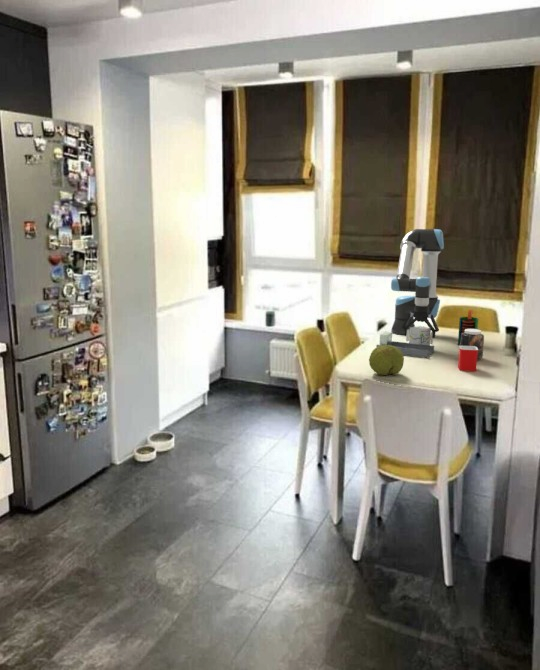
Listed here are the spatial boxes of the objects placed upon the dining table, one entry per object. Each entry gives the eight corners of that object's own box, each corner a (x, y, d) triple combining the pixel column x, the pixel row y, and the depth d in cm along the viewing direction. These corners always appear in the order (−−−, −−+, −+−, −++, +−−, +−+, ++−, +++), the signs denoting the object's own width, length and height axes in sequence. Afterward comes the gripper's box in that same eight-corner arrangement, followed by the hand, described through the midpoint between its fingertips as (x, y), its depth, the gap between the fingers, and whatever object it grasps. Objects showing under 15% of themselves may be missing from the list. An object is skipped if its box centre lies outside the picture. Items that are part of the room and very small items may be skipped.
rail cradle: (384, 346, 327) (385, 330, 325) (433, 352, 314) (434, 335, 312) (376, 351, 315) (376, 335, 313) (427, 357, 302) (428, 340, 300)
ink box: (418, 350, 319) (419, 329, 316) (408, 347, 326) (409, 326, 324) (430, 348, 323) (431, 328, 320) (419, 345, 330) (420, 325, 328)
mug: (477, 371, 276) (478, 350, 274) (459, 370, 278) (460, 349, 275) (473, 365, 288) (475, 344, 285) (456, 364, 289) (457, 343, 287)
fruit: (389, 380, 261) (374, 351, 261) (372, 384, 274) (358, 355, 274) (414, 365, 267) (400, 336, 267) (397, 369, 280) (383, 341, 280)
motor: (457, 345, 329) (459, 311, 325) (458, 342, 338) (460, 308, 333) (476, 347, 326) (478, 312, 322) (476, 344, 334) (479, 310, 330)
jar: (455, 358, 301) (457, 330, 298) (464, 354, 310) (466, 327, 306) (477, 362, 293) (479, 333, 290) (486, 358, 302) (488, 330, 299)
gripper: (397, 304, 322) (395, 341, 326) (442, 307, 310) (440, 346, 314) (401, 302, 329) (399, 338, 333) (446, 305, 316) (443, 343, 321)
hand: (419, 342), depth 324 cm, fingers open, 13 cm apart
